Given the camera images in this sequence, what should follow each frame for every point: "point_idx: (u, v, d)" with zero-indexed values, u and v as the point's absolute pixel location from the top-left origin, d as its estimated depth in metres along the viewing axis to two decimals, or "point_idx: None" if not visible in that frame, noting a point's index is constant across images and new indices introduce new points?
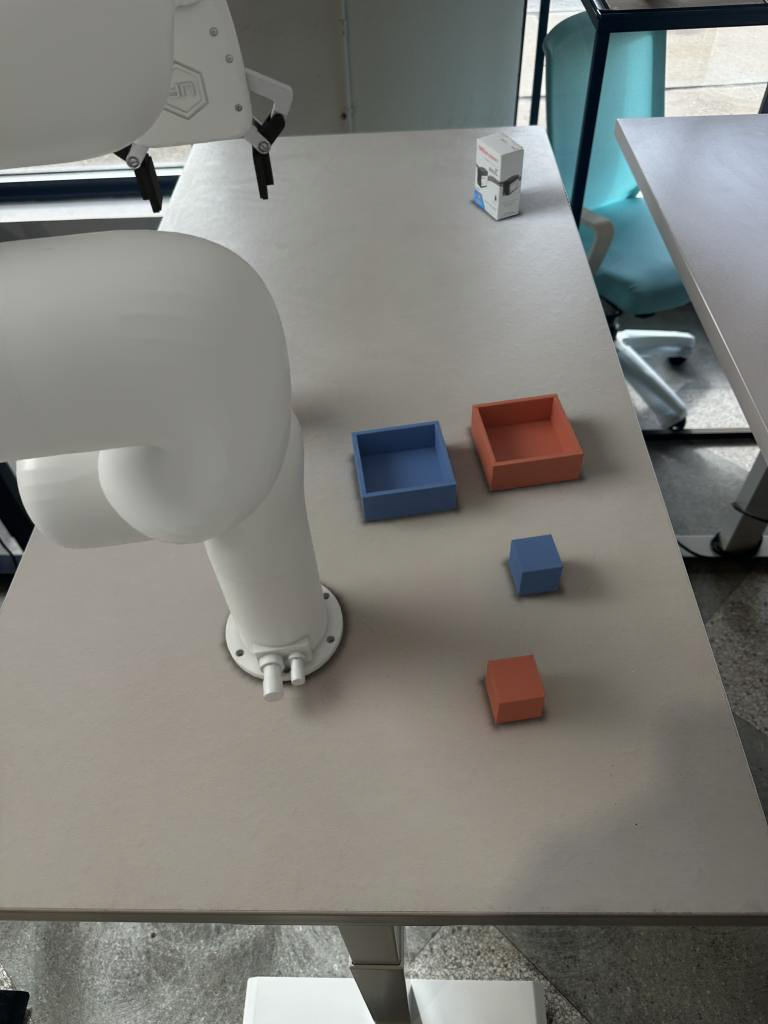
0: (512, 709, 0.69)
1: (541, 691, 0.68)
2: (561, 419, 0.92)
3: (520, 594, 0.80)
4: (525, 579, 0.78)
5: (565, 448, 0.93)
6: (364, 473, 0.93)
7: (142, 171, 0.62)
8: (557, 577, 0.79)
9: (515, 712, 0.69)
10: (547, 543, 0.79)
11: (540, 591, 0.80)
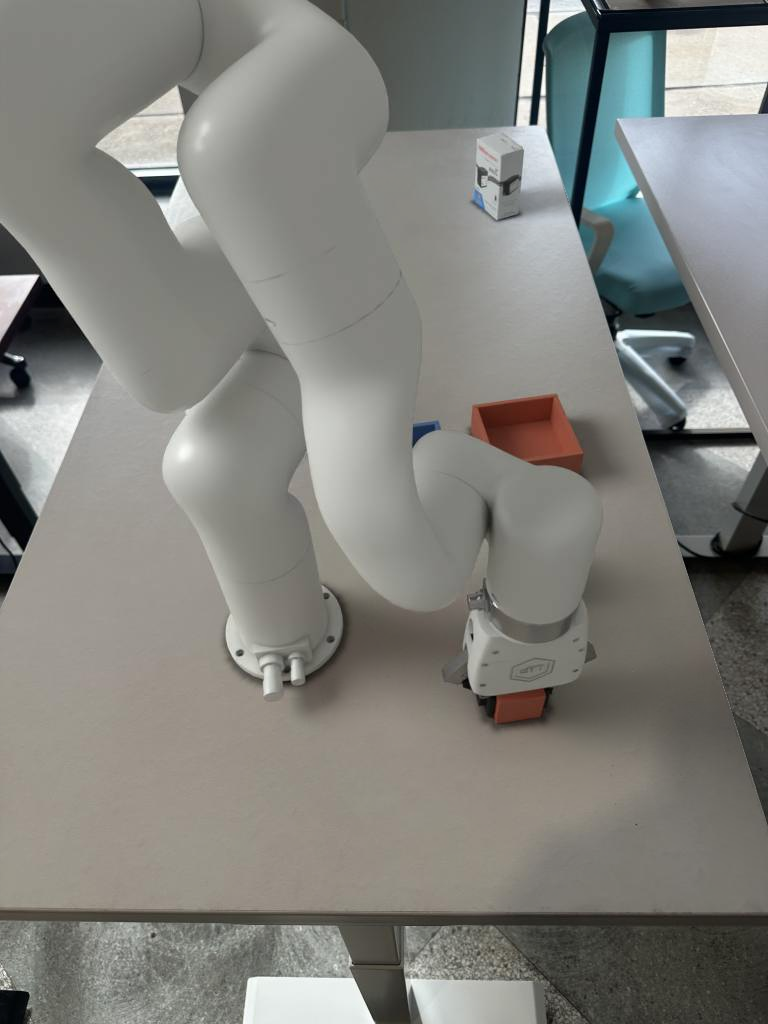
0: (512, 709, 0.69)
1: (541, 691, 0.68)
2: (561, 419, 0.92)
3: None
4: None
5: (565, 448, 0.93)
6: None
7: (491, 700, 0.68)
8: None
9: (515, 712, 0.69)
10: None
11: None
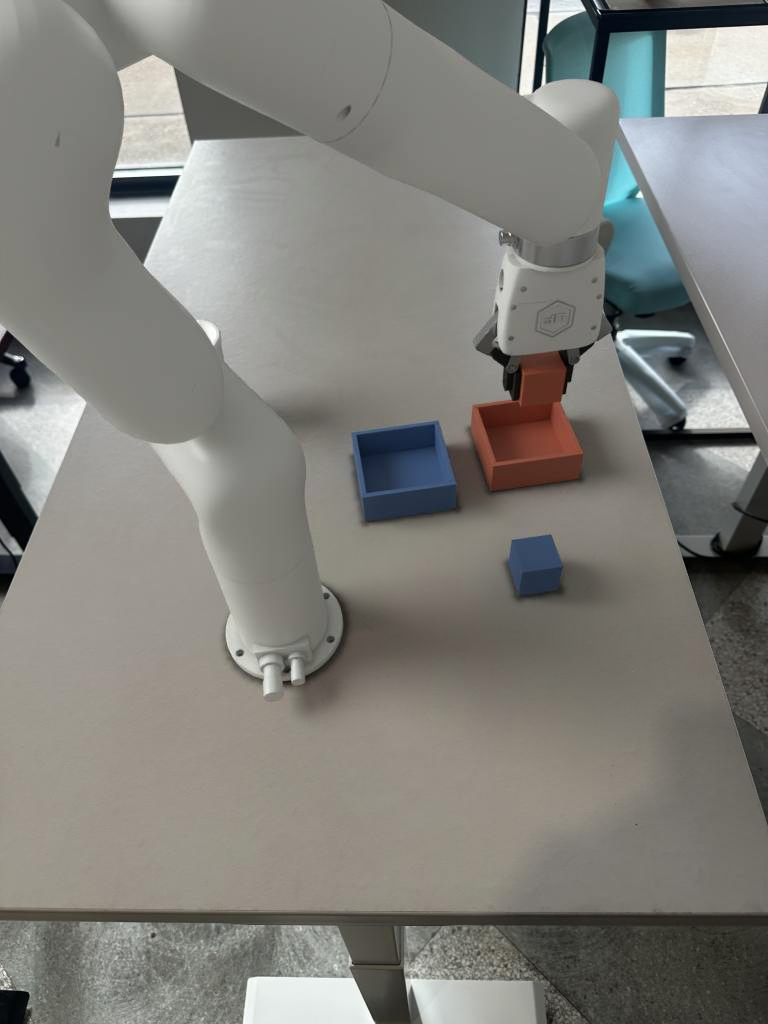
0: (536, 386, 0.77)
1: (562, 366, 0.76)
2: (561, 419, 0.92)
3: (520, 594, 0.80)
4: (525, 579, 0.78)
5: (565, 448, 0.93)
6: (364, 473, 0.93)
7: (517, 374, 0.76)
8: (557, 577, 0.79)
9: (538, 390, 0.78)
10: (547, 543, 0.79)
11: (540, 591, 0.80)
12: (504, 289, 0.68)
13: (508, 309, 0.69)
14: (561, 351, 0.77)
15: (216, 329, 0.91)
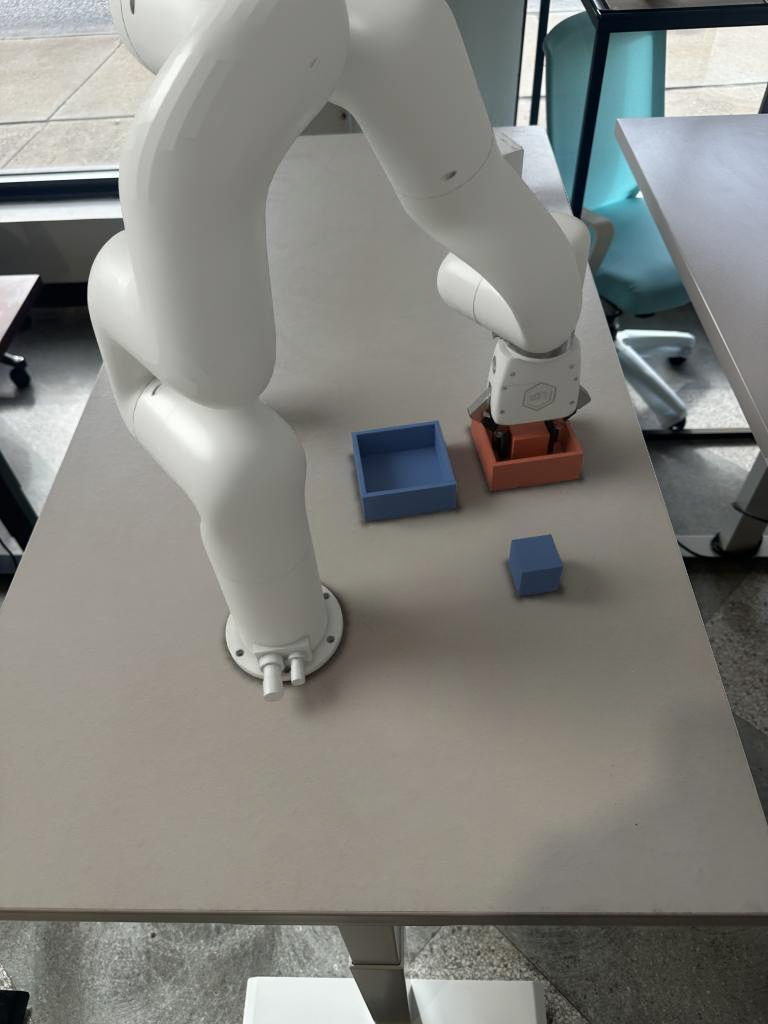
0: (524, 449, 0.90)
1: (546, 432, 0.90)
2: None
3: (520, 594, 0.80)
4: (525, 579, 0.78)
5: (565, 448, 0.93)
6: (364, 473, 0.93)
7: (504, 438, 0.89)
8: (557, 577, 0.79)
9: (526, 452, 0.91)
10: (547, 543, 0.79)
11: (540, 591, 0.80)
12: (496, 373, 0.82)
13: (500, 389, 0.82)
14: None
15: None
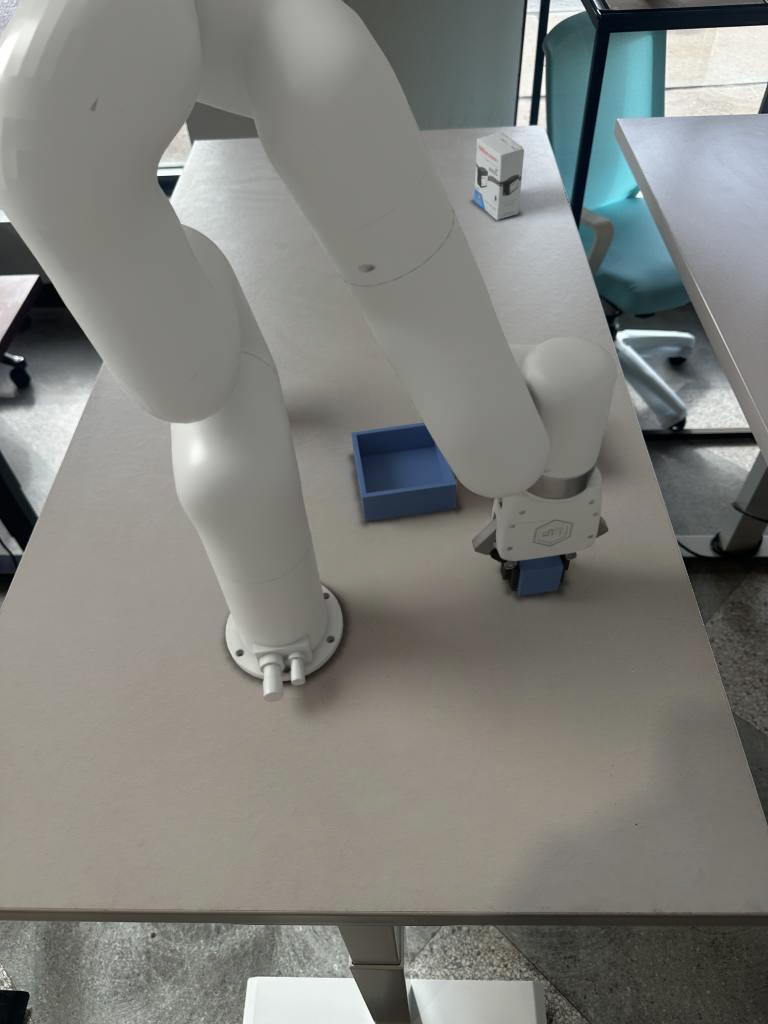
0: None
1: None
2: None
3: (520, 594, 0.80)
4: (525, 579, 0.78)
5: None
6: (364, 473, 0.93)
7: (515, 571, 0.78)
8: (557, 577, 0.79)
9: None
10: None
11: (540, 591, 0.80)
12: (503, 509, 0.70)
13: (507, 527, 0.70)
14: None
15: None
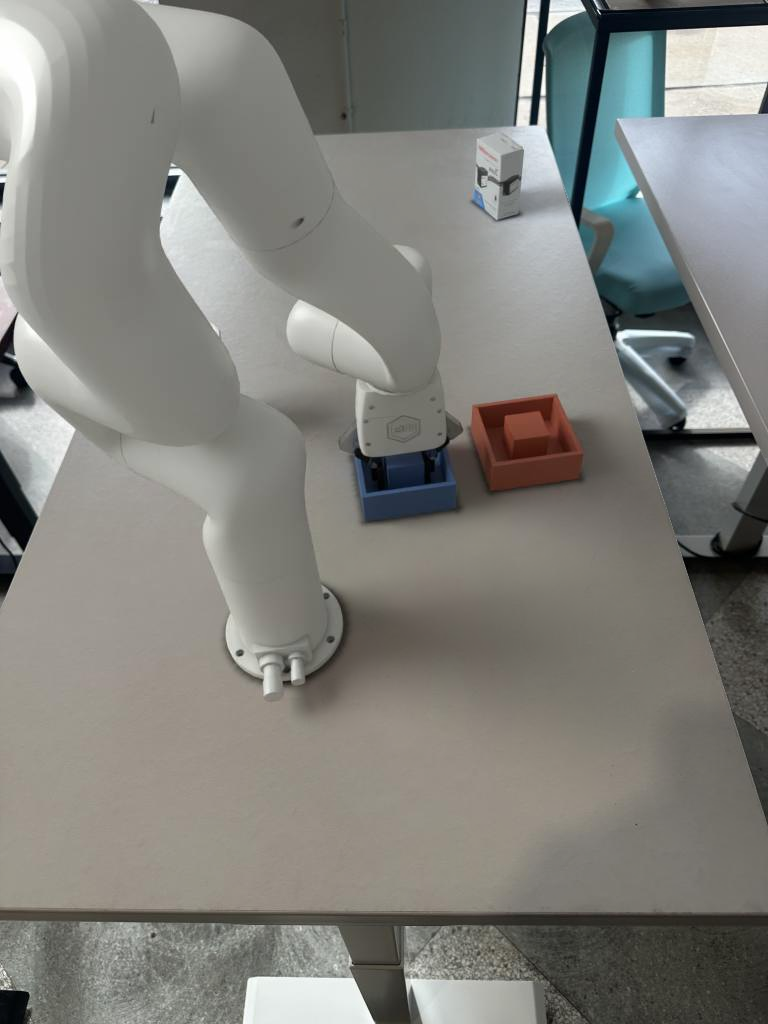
0: (524, 449, 0.90)
1: (546, 432, 0.90)
2: (561, 419, 0.92)
3: None
4: (391, 475, 0.88)
5: (565, 448, 0.93)
6: (364, 473, 0.93)
7: (378, 469, 0.88)
8: (420, 474, 0.89)
9: (526, 452, 0.91)
10: None
11: None
12: (357, 406, 0.80)
13: (361, 422, 0.80)
14: None
15: (216, 329, 0.91)
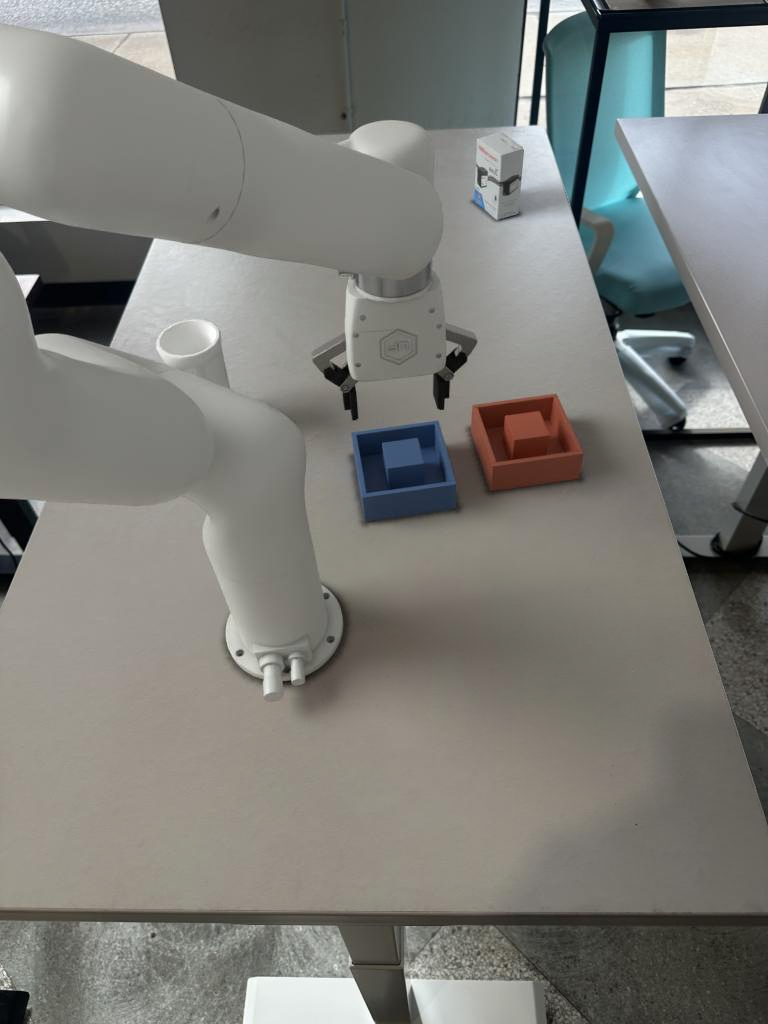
0: (524, 449, 0.90)
1: (546, 432, 0.90)
2: (561, 419, 0.92)
3: None
4: (391, 475, 0.88)
5: (565, 448, 0.93)
6: (364, 473, 0.93)
7: (351, 394, 0.78)
8: (420, 474, 0.89)
9: (526, 452, 0.91)
10: (413, 445, 0.89)
11: None
12: (346, 317, 0.71)
13: (351, 337, 0.71)
14: None
15: (216, 329, 0.91)
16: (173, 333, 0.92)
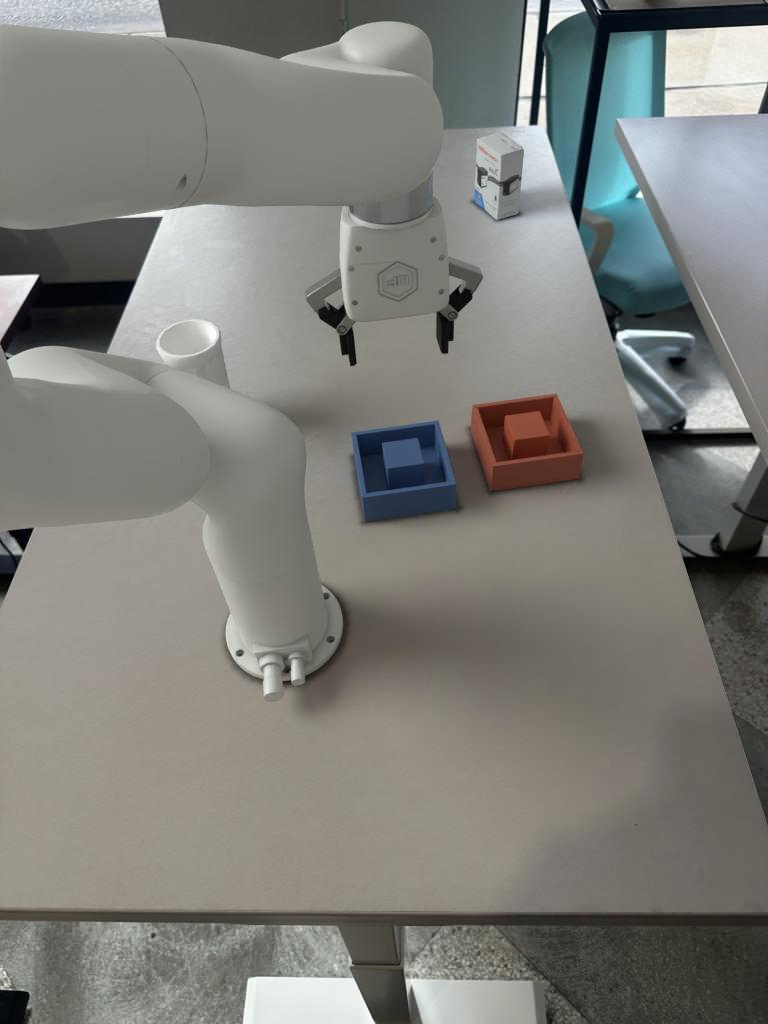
0: (524, 449, 0.90)
1: (546, 432, 0.90)
2: (561, 419, 0.92)
3: None
4: (391, 475, 0.88)
5: (565, 448, 0.93)
6: (364, 473, 0.93)
7: (348, 336, 0.72)
8: (420, 474, 0.89)
9: (526, 452, 0.91)
10: (413, 445, 0.89)
11: None
12: (341, 249, 0.65)
13: (346, 271, 0.66)
14: None
15: (216, 329, 0.91)
16: (173, 333, 0.92)
